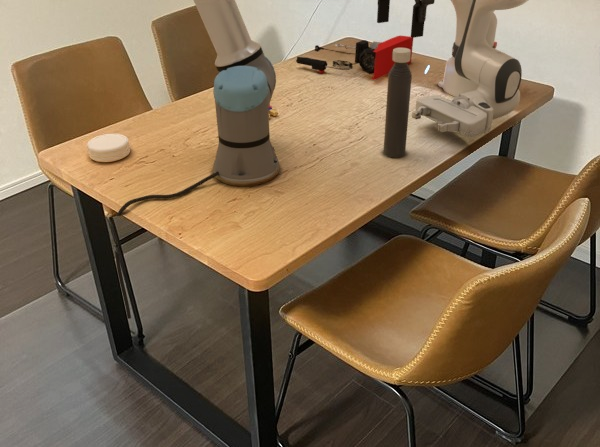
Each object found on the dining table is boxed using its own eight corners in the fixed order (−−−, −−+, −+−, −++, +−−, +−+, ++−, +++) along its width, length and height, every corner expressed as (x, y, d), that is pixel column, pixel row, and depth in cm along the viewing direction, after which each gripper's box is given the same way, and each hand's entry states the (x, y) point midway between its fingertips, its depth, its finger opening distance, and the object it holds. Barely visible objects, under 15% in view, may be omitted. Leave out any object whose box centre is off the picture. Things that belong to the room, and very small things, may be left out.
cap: (413, 61, 139) (414, 51, 138) (396, 63, 138) (397, 53, 137) (405, 56, 143) (406, 46, 141) (389, 58, 142) (389, 48, 140)
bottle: (408, 155, 152) (417, 54, 138) (388, 159, 150) (396, 56, 137) (399, 147, 156) (407, 47, 142) (379, 150, 154) (386, 49, 141)
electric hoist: (295, 37, 203) (374, 52, 188) (338, 23, 222) (414, 35, 207) (294, 67, 208) (372, 84, 193) (337, 51, 227) (411, 65, 212)
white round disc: (100, 166, 148) (97, 153, 146) (82, 153, 155) (79, 140, 153) (137, 154, 154) (135, 141, 152) (119, 141, 160) (116, 129, 158)
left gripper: (360, -81, 136) (356, 18, 147) (428, -67, 117) (417, 45, 128) (388, -83, 139) (383, 14, 150) (459, -70, 120) (447, 40, 131)
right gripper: (440, 86, 166) (400, 97, 160) (498, 110, 151) (456, 123, 145) (438, 108, 169) (398, 120, 163) (494, 134, 154) (453, 148, 148)
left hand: (399, 29), depth 139 cm, fingers open, 13 cm apart
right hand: (426, 121), depth 154 cm, fingers open, 8 cm apart
